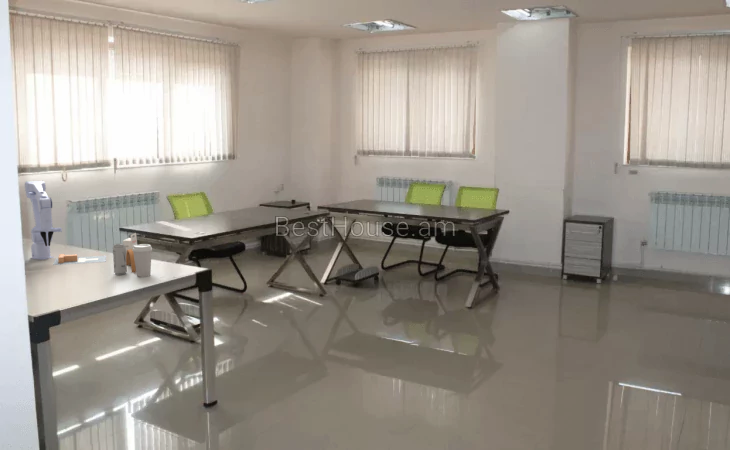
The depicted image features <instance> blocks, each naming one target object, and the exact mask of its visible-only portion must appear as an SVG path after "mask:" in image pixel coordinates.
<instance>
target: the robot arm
mask: <svg viewBox="0 0 730 450" xmlns="http://www.w3.org/2000/svg"><path fill="white" fill-rule="evenodd" d="M46 189H47V187H46V182H45V181H44V180H33V181H31V180H29V181H27V180H26V181H24V192H25V195H26V198H28V199H30V202H31V207H32V212H33V213H32V214H33V217H34V224H35V226H34V227H32V228H31V231H30V233H31V234H30V235H31V242H32V244H31V247H30V248H31V251H30V252H31V259H35V260H41V261H42V260H43V261H44V260H48V259H51V258H53V259H54V256H51V242H52V241H53V237H54V236H53V235H54V233H59V232H61V233H62V232H63V228H62V227H53V216H52V215H53V214H52V209H53V200H52V197H50V196H49V195H48V193H47V192H46Z"/></svg>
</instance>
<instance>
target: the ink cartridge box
mask: <svg viewBox="0 0 730 450" xmlns="http://www.w3.org/2000/svg"><path fill="white" fill-rule="evenodd" d="M122 243H123V244H124V245H125V247H126V253H127V250H130V249H133V247H134V246H135V245H138V237H137V233H136V232H134V233H132V234H130V237H128V238H125V239H123V240H122Z"/></svg>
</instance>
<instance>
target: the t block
mask: <svg viewBox="0 0 730 450" xmlns="http://www.w3.org/2000/svg"><path fill="white" fill-rule="evenodd" d="M77 257H78V254H76V253H75V254H65V253H60V254H58V262H59V263H64V262H68V261H77V260H78V258H77Z"/></svg>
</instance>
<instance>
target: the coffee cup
mask: <svg viewBox="0 0 730 450" xmlns="http://www.w3.org/2000/svg"><path fill="white" fill-rule="evenodd" d="M132 251H133V253H134V260H135V267H136V272H135V273H136V277H139V278H146V277H150V276H151V271H152V270H151V269H152V252H153V247H152V245H151V244H148V243H141V244H137V245H135V246H134V247H133V249H132Z"/></svg>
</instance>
